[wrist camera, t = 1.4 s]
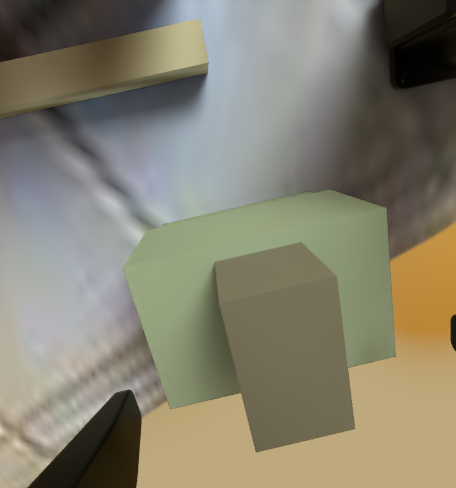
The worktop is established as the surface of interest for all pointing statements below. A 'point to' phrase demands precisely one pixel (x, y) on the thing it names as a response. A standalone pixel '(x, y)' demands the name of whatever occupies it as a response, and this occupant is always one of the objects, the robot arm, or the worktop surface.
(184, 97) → the worktop surface
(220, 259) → the pale green blocky piece
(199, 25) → the wooden board
